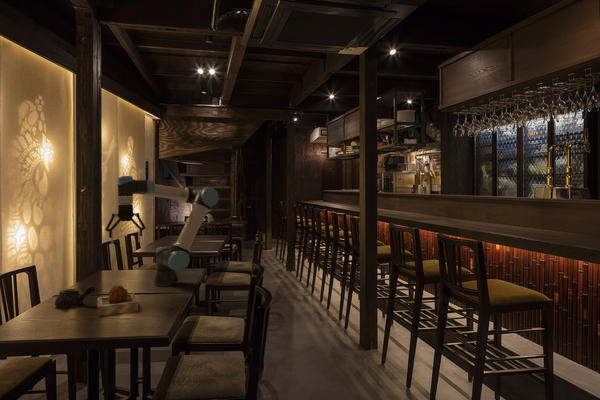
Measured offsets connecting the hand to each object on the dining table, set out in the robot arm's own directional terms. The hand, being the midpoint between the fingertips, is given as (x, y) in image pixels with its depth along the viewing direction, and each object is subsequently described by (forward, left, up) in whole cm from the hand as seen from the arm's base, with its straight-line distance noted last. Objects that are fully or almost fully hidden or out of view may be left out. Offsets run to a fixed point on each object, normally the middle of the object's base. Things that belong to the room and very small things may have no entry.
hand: (126, 243), depth 224 cm
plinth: (+6, +26, -29) cm, 39 cm away
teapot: (+24, +10, -29) cm, 39 cm away
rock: (+6, +25, -26) cm, 36 cm away
